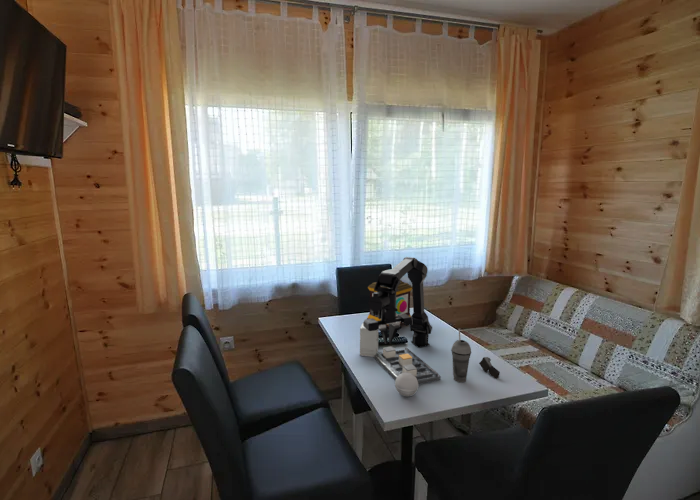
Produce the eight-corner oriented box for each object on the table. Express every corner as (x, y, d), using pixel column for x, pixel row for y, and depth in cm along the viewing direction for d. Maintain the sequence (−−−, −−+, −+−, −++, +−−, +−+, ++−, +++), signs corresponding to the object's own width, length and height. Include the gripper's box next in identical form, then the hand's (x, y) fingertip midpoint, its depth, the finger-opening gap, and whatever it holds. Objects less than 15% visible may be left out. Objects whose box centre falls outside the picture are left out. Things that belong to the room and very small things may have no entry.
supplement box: (376, 357, 157) (376, 329, 155) (359, 355, 158) (359, 328, 156) (378, 350, 164) (378, 323, 162) (362, 348, 165) (362, 322, 163)
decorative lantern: (363, 323, 196) (363, 269, 191) (387, 315, 209) (388, 263, 204) (391, 334, 181) (392, 275, 176) (416, 324, 194) (417, 269, 189)
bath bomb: (404, 386, 134) (405, 365, 133) (422, 395, 128) (423, 373, 127) (390, 394, 129) (390, 373, 127) (408, 404, 123) (408, 382, 121)
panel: (407, 352, 161) (407, 347, 161) (440, 379, 138) (440, 373, 138) (374, 358, 156) (374, 352, 155) (402, 387, 133) (402, 381, 132)
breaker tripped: (407, 361, 149) (407, 353, 149) (412, 365, 146) (412, 357, 145) (398, 363, 148) (399, 355, 147) (403, 367, 144) (403, 358, 144)
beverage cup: (466, 386, 133) (469, 334, 130) (447, 381, 137) (449, 330, 134) (471, 377, 140) (474, 328, 136) (452, 372, 143) (455, 324, 140)
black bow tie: (496, 381, 142) (503, 373, 138) (491, 382, 141) (498, 375, 137) (483, 362, 148) (489, 354, 144) (478, 363, 147) (485, 355, 143)
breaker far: (391, 353, 156) (391, 346, 155) (395, 357, 153) (395, 349, 152) (383, 355, 155) (383, 347, 154) (386, 359, 151) (386, 351, 151)
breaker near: (411, 372, 140) (411, 364, 140) (416, 376, 137) (416, 368, 136) (402, 374, 139) (402, 365, 138) (407, 378, 136) (407, 370, 135)
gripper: (400, 296, 150) (399, 332, 153) (358, 301, 144) (357, 338, 147) (414, 304, 140) (412, 342, 143) (369, 309, 134) (369, 350, 136)
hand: (387, 343), depth 142 cm, fingers closed
